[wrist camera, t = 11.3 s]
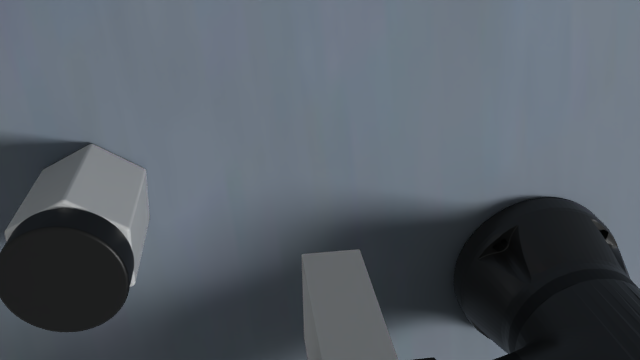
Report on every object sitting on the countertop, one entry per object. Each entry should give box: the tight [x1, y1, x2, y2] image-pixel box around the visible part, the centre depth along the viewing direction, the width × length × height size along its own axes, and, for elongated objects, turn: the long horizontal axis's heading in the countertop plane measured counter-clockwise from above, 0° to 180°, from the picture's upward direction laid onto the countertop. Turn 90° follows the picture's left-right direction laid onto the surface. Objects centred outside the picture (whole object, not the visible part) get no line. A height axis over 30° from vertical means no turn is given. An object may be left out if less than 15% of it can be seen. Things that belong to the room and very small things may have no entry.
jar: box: [0, 144, 150, 332], centre depth 44 cm, size 9×8×12 cm
